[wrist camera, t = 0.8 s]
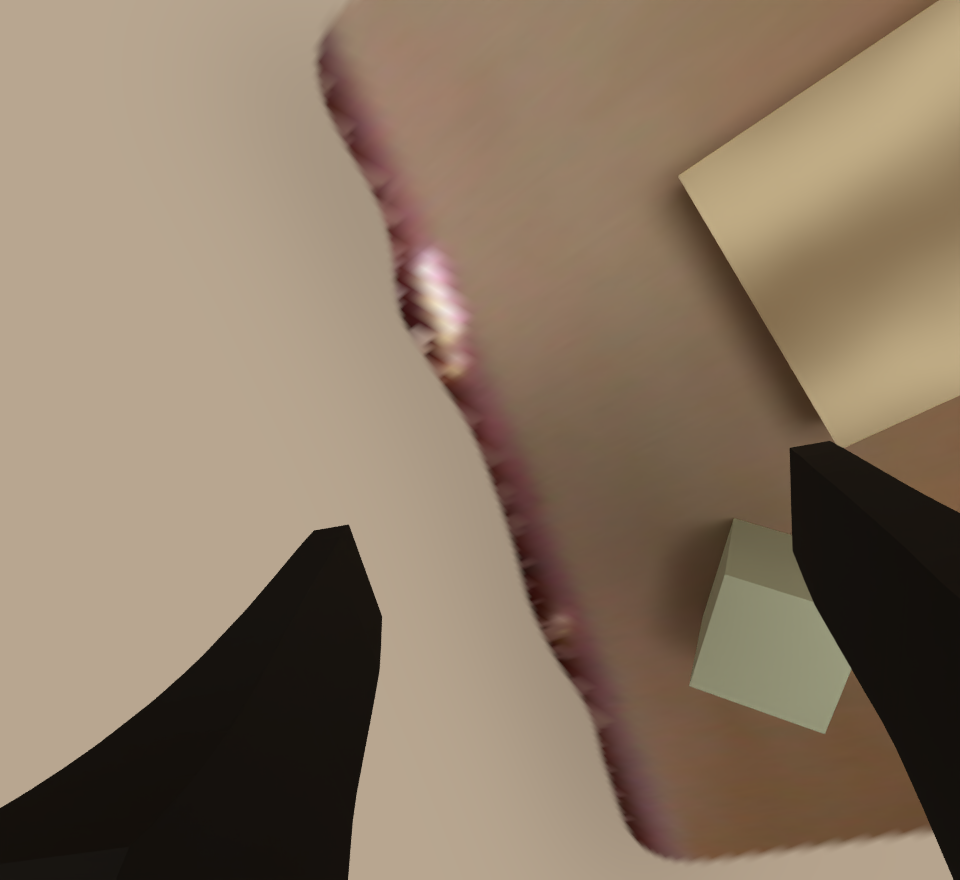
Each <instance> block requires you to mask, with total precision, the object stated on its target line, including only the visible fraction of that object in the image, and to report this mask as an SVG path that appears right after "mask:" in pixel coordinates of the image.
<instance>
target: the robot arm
mask: <svg viewBox="0 0 960 880" xmlns="http://www.w3.org/2000/svg"><path fill="white" fill-rule="evenodd" d="M790 475H791V513H792V551H793V553H794V556H795V558H796V561H797V563H798V566H799V569H800V571H801V574H802V576H803V579H804V581H805V583H806V586H807V588H808V591H809V593H810V595H811V598H812V600H813V602H814V605H815V606H816V608H817V610H818V612H819V614H820V615H821V617H822V619H823V621H824V622H825V624H826V626H827V628H828V629H829V631H830V633H831V635H832V636H833V638H834V640H835V642H836V643H837V645H838V647H839V648H840V650H841V652H842V654H843V655H844V657H845V659H846V660H847V662H848V664H849V666H850V667H851V669H852V671H853V672H854V674H855V676H856V678H857V679H858V681H859V683H860V684H861V686H862V688H863V690H864V691H865V693H866V695H867V696H868V698H869V700H870V702H871V703H872V705H873V707H874V708H875V710H876V712H877V714H878V715H879V717H880V719H881V720H882V722H883V724H884V726H885V728H886V730H887V732H888V734H889V736H890V737H891V739H892V741H893V743H894V745H895V747H896V749H897V751H898V753H899V756H900V758H901V760H902V762H903V764H904V767H905V769H906V771H907V773H908V776H909V778H910V780H911V782H912V785H913V787H914V789H915V791H916V793H917V796H918V798H919V800H920V802H921V805H922V807H923V809H924V811H925V814H926V816H927V818H928V821H929V823H930V825H931V828H932V830H933V832H934V835H935V837H936V839H937V842H938V844H939V846H940V849H941V851H942V853H943V856H944V858H945V861H946V863H947V865H948V867H949V870H950V872H951V875H952V877H953V879H954V880H960V513H959V512H957V511H955V510H953V509H951V508H949V507H947V506H945V505H943V504H941V503H939V502H937V501H935V500H934V499H932V498H930V497H928V496H926V495H924V494H922V493H921V492H919V491H917V490H915V489H913V488H911V487H910V486H908V485H906V484H904V483H903V482H901V481H899V480H897V479H896V478H894V477H892V476H890V475H889V474H887V473H885V472H883V471H882V470H880V469H878V468H877V467H875V466H873V465H871V464H870V463H868V462H866V461H865V460H863V459H861V458H859V457H858V456H856V455H854V454H853V453H851V452H849V451H847V450H846V449H844V448H842V447H840V446H838V445H837V444H835V443H833V442H831V441H827V442H821V443H815V444H810V445H804V446H798V447H792V448H790ZM381 630H382V615H381V612H380V610H379V607H378V604H377V601H376V599H375V596H374V593H373V590H372V587H371V585H370V582H369V580H368V576H367V574H366V571H365V568H364V565H363V563H362V560H361V557H360V555H359V552H358V549H357V546H356V543H355V541H354V538H353V535H352V532H351V529H350V527H349V525H343V526H338V527H332V528H326V529H320V530H315V531H313V532H312V534H310V536H309V537H308V538H307V539H306V540H305V541H304V542H303V543H302V545H301V546H300V547H299V548H298V549H297V550H296V552H295V553H294V554H293V555H292V556H291V557H290V559H289V560H288V561H287V562H286V564H285V565H284V566H283V567H282V568H281V569H280V571H279V572H278V573H277V574H276V575H275V577H274V578H273V579H272V580H271V581H270V582H269V584H268V585H267V586H266V587H265V588H264V590H263V591H262V592H261V593H260V594H259V595H258V596H257V598H256V599H255V600H254V601H253V602H252V603H251V605H250V606H249V607H248V608H247V609H246V610H245V612H243V614H242V615H241V616H240V617H239V618H238V619H237V620H236V621H235V622H234V623H233V624H232V625H231V626H230V628H228V629H227V631H226V632H225V633H224V634H223V635H222V636H221V637H220V638H219V639H218V640H217V641H216V642H215V643H214V644H213V646H211V648H210V649H209V650H208V651H207V652H206V653H205V654H204V655H203V656H202V657H201V658H200V659H199V660H198V661H197V662H196V663H195V664H193V665H192V666H191V667H190V668H189V669H188V670H187V671H186V672H185V673H184V674H183V675H182V676H181V677H180V678H179V679H177V680H176V681H175V682H174V683H173V684H172V685H171V686H169V687H168V688H167V689H166V690H165V691H164V692H163V693H162V694H160V695H159V696H158V697H157V698H156V699H155V700H154V701H152V702H151V703H150V704H149V705H147V706H146V707H145V708H144V709H142V710H141V711H140V712H139V713H137V714H136V715H135V716H134V717H132V718H131V719H130V720H128V721H127V722H126V723H124V724H123V725H122V726H121V727H119V728H118V729H117V730H115V731H114V732H113V733H112V734H110V735H109V736H108V737H106V738H105V739H104V740H103V741H102V742H100V743H99V744H97V745H96V746H95V747H93V748H92V749H90V750H89V751H88V752H86V753H85V754H83V755H82V756H81V757H79V758H78V759H76V760H75V761H73V762H72V763H70V764H69V765H68V766H66V767H65V768H63V769H62V770H60V771H59V772H57V773H56V774H54V775H53V776H51V777H50V778H48V779H46V780H45V781H43V782H42V783H40V784H39V785H37V786H36V787H34V788H33V789H31V790H29V791H28V792H26V793H25V794H23V795H21V796H20V797H18V798H17V799H15V800H13V801H11V802H10V803H8V804H6V805H5V806H3V807H1V808H0V880H348V872H349V859H350V848H351V835H352V823H353V815H354V808H355V801H356V794H357V788H358V783H359V777H360V773H361V767H362V762H363V757H364V752H365V746H366V741H367V736H368V731H369V725H370V719H371V715H372V709H373V704H374V699H375V693H376V687H377V682H378V676H379V669H380V653H381Z"/></svg>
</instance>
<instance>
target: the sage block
mask: <svg viewBox="0 0 960 880" xmlns="http://www.w3.org/2000/svg"><path fill="white" fill-rule="evenodd" d="M850 671H851V667H850V666H849V664H848V662H847V660H846V659H845V657H844V655H843V654H842V652H841V650H840V648H839V647H838V645H837V643H836V642H835V640H834V638H833V636H832V635H831V633H830V631H829V629H828V628H827V626H826V624H825V622H824V621H823V619H822V617H821V615H820V614H819V612H818V610H817V608H816V606H815V605H814V602H813V600H812V598H811V595H810V593H809V591H808V588H807V586H806V583H805V581H804V579H803V576H802V574H801V571H800V569H799V566H798V563H797V561H796V558H795V556H794V553H793V551H792V535H790V534H787V533H783V532H780V531H777V530H773V529H770V528H766V527H763V526H760V525H756V524H753V523H749V522H746V521H743V520H739V519H736V518H734V519H733V522H732V526H731V529H730V532H729V535H728V538H727V541H726V545H725V548H724V551H723V554H722V557H721V560H720V564H719V567H718V570H717V573H716V576H715V579H714V583H713V586H712V589H711V592H710V595H709V598H708V601H707V605H706V608H705V611H704V614H703V617H702V622H701V628H700V633H699V638H698V643H697V648H696V653H695V658H694V663H693V669H692V674H691V679H690V684H689V686H691V687H693V688H696V689H699V690H702V691H705V692H707V693H710V694H713V695H716V696H719V697H722V698H724V699H727V700H730V701H733V702H736V703H738V704H741V705H744V706H747V707H750V708H753V709H755V710H758V711H761V712H764V713H767V714H769V715H772V716H775V717H778V718H781V719H783V720H786V721H789V722H792V723H795V724H798V725H800V726H803V727H806V728H809V729H812V730H814V731H817V732H820V733H823V734H825V733H826V730H827V728H828V725H829V723H830V720H831V718H832V715H833V713H834V710H835V708H836V706H837V703H838V701H839V698H840V696H841V693H842V691H843V688H844V686H845V684H846V681H847V679H848V676H849V674H850Z"/></svg>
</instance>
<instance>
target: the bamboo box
mask: <svg viewBox="0 0 960 880" xmlns="http://www.w3.org/2000/svg"><path fill="white" fill-rule="evenodd" d="M678 177H679V179H680V180H681V182H682V184H683V186H684V187H685V189H686V191H687V192H688V194H689V196H690V197H691V199H692V201H693V203H694V204H695V206H696V208H697V209H698V211H699V213H700V214H701V216H702V218H703V219H704V221H705V223H706V225H707V226H708V228H709V230H710V231H711V233H712V235H713V236H714V238H715V240H716V242H717V243H718V245H719V247H720V248H721V250H722V252H723V253H724V255H725V257H726V258H727V260H728V262H729V264H730V265H731V267H732V269H733V270H734V272H735V274H736V275H737V277H738V279H739V281H740V282H741V284H742V286H743V287H744V289H745V291H746V292H747V294H748V296H749V297H750V299H751V301H752V303H753V304H754V306H755V308H756V309H757V311H758V313H759V314H760V316H761V318H762V319H763V321H764V323H765V325H766V326H767V328H768V330H769V331H770V333H771V335H772V336H773V338H774V340H775V342H776V343H777V345H778V347H779V348H780V350H781V352H782V353H783V355H784V357H785V358H786V360H787V362H788V364H789V365H790V367H791V369H792V370H793V372H794V374H795V375H796V377H797V379H798V381H799V382H800V384H801V386H802V387H803V389H804V391H805V392H806V394H807V396H808V397H809V399H810V401H811V403H812V404H813V406H814V408H815V409H816V411H817V413H818V414H819V416H820V418H821V420H822V421H823V423H824V425H825V426H826V428H827V430H828V431H829V433H830V435H831V436H832V438H833V440H834V442H835V443H836V444H837V445H838V446H840V447H842V448H845V447H847V446H849V445H851V444H853V443H856V442H858V441H860V440H862V439H864V438H867V437H869V436H871V435H873V434H875V433H878V432H880V431H882V430H884V429H886V428H889V427H891V426H893V425H895V424H898V423H900V422H902V421H904V420H906V419H909V418H911V417H913V416H915V415H917V414H920V413H922V412H924V411H926V410H928V409H931V408H933V407H935V406H937V405H939V404H942V403H944V402H946V401H948V400H951V399H953V398H955V397H957V396H959V395H960V0H939V1H937V2H936V3H934V4H933V5H931V6H930V7H928V8H927V9H925V10H924V11H922V12H921V13H919V14H918V15H916V16H915V17H913V18H912V19H910V20H909V21H907V22H906V23H904V24H903V25H901V26H900V27H898V28H897V29H896V30H894V31H893V32H891V33H890V34H888V35H887V36H885V37H884V38H882V39H881V40H879V41H878V42H876V43H875V44H873V45H872V46H870V47H869V48H867V49H866V50H864V51H863V52H861V53H860V54H858V55H857V56H855V57H854V58H852V59H851V60H849V61H848V62H846V63H845V64H844V65H842V66H841V67H839V68H838V69H836V70H835V71H833V72H832V73H830V74H829V75H827V76H826V77H824V78H823V79H821V80H820V81H818V82H817V83H815V84H814V85H812V86H811V87H809V88H808V89H806V90H805V91H803V92H802V93H800V94H799V95H797V96H796V97H795V98H793V99H792V100H790V101H789V102H787V103H786V104H784V105H783V106H781V107H780V108H778V109H777V110H775V111H774V112H772V113H771V114H769V115H768V116H766V117H765V118H763V119H762V120H760V121H759V122H757V123H756V124H754V125H753V126H751V127H750V128H748V129H747V130H745V131H744V132H743V133H741V134H740V135H738V136H737V137H735V138H734V139H732V140H731V141H729V142H728V143H726V144H725V145H723V146H722V147H720V148H719V149H717V150H716V151H714V152H713V153H711V154H710V155H708V156H707V157H705V158H704V159H702V160H701V161H699V162H698V163H696V164H695V165H693V166H692V167H691V168H689V169H688V170H686V171H685V172H683V173H682V174H680V175H679V176H678Z"/></svg>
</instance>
